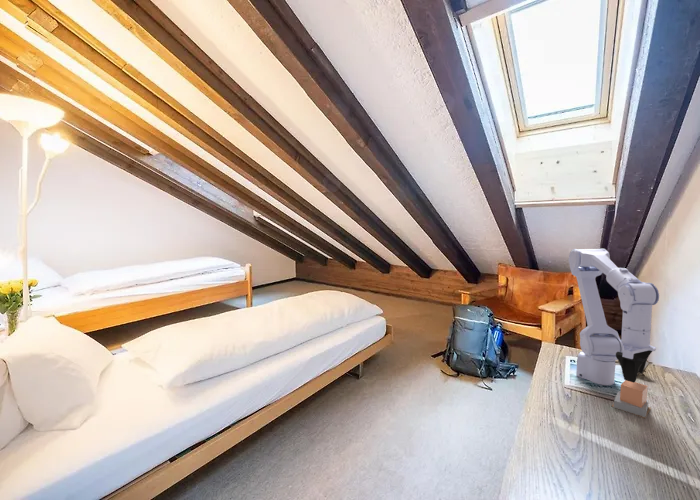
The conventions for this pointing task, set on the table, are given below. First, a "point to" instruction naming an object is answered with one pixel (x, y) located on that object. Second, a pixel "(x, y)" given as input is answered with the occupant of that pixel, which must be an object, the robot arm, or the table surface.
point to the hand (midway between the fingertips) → (633, 376)
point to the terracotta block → (633, 393)
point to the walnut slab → (635, 414)
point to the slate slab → (630, 406)
